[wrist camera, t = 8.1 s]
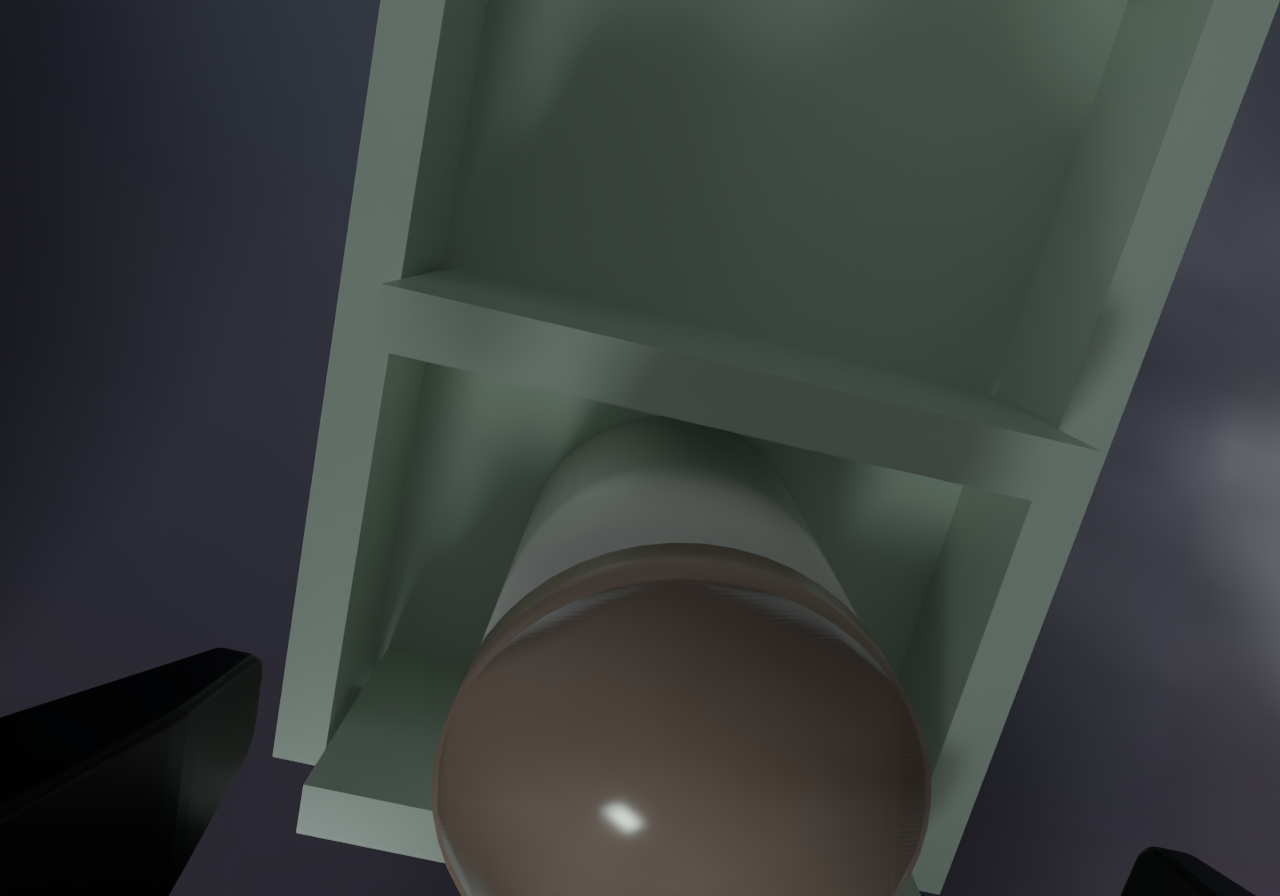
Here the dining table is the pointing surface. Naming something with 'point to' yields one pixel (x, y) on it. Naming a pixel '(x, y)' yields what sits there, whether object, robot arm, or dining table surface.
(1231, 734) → the dining table surface
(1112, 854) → the dining table surface
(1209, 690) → the dining table surface
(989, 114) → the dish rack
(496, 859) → the jar
